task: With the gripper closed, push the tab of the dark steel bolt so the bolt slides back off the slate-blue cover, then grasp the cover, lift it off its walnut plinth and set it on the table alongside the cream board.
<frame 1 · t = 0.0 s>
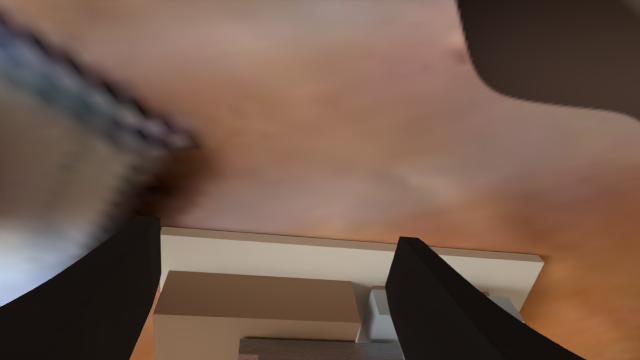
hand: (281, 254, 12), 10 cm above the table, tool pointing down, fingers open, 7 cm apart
latch box: (350, 296, 27), on the table
cover: (430, 322, 26), point 2 cm above the table, touching latch box
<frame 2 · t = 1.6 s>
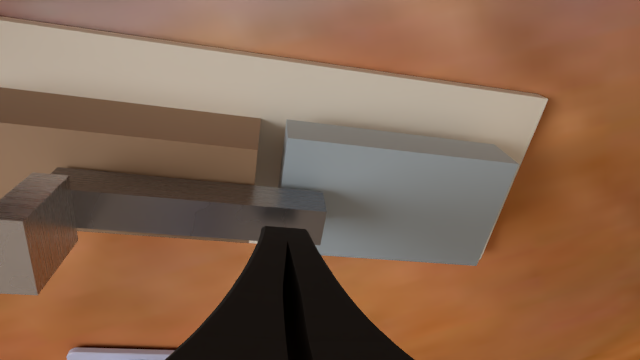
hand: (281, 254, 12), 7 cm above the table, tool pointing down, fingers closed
latch box: (268, 154, 19), on the table
cover: (381, 185, 18), point 2 cm above the table, touching latch box
bolt: (185, 228, 13), point 6 cm above the table, slide at 0.0 cm
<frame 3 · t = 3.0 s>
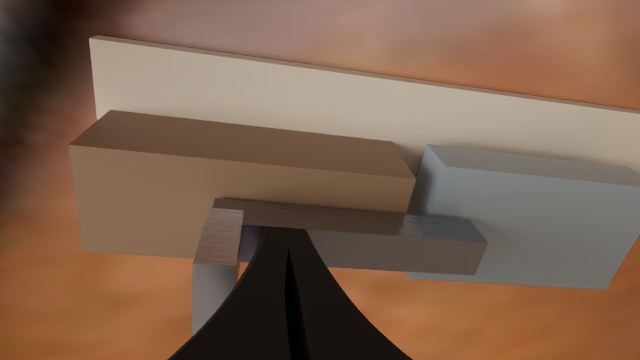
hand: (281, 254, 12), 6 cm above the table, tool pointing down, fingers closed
latch box: (387, 176, 18), on the table
cover: (508, 208, 17), point 2 cm above the table, touching latch box
bolt: (354, 262, 12), point 6 cm above the table, slide at 0.2 cm, touching gripper
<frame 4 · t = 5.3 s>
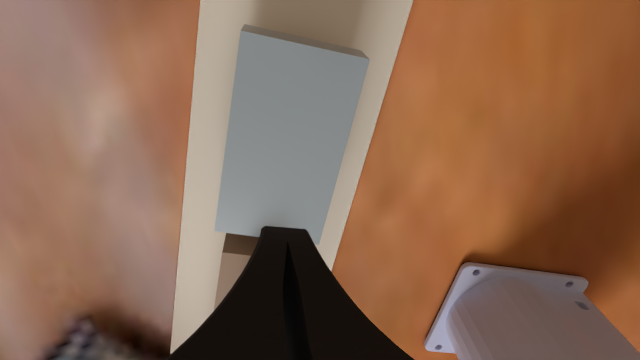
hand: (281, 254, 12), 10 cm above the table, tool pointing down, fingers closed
latch box: (268, 203, 23), on the table
cover: (284, 135, 19), point 2 cm above the table, touching latch box
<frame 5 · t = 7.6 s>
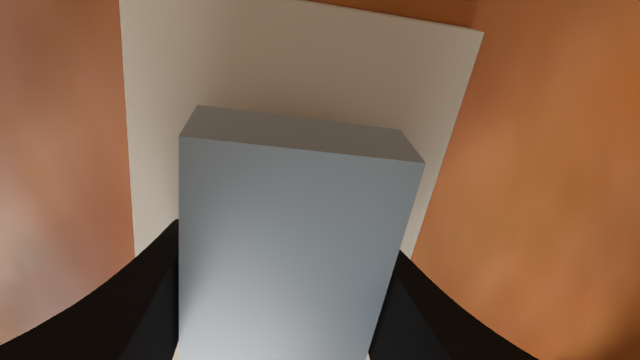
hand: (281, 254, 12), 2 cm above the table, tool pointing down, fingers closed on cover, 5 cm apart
latch box: (266, 329, 16), on the table
cover: (281, 262, 12), point 2 cm above the table, touching gripper, latch box
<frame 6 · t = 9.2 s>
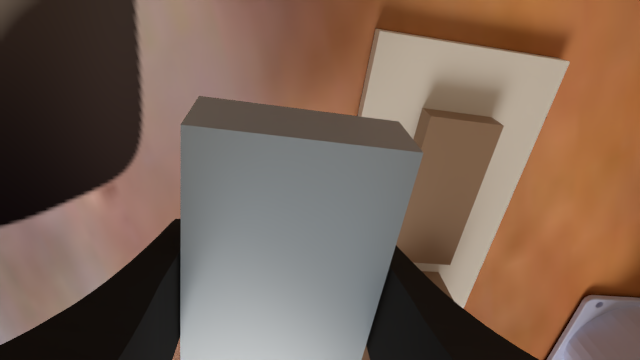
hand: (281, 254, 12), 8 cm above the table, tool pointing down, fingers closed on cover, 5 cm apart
latch box: (404, 254, 24), on the table
cover: (282, 253, 12), point 9 cm above the table, touching gripper
when the fingers open (2 cm above the table, at t = 10.9 s): cover drops 2 cm, on the table.
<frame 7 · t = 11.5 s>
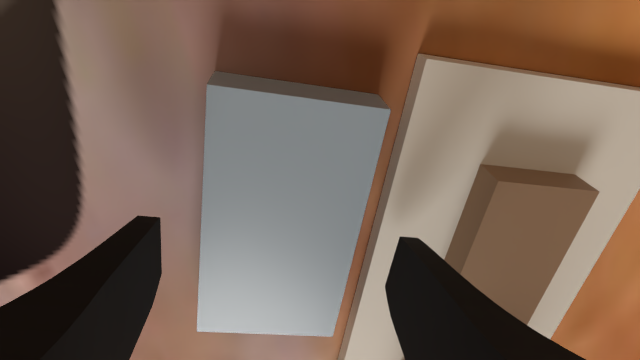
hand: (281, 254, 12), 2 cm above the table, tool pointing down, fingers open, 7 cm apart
latch box: (440, 338, 18), on the table
cover: (280, 202, 15), on the table
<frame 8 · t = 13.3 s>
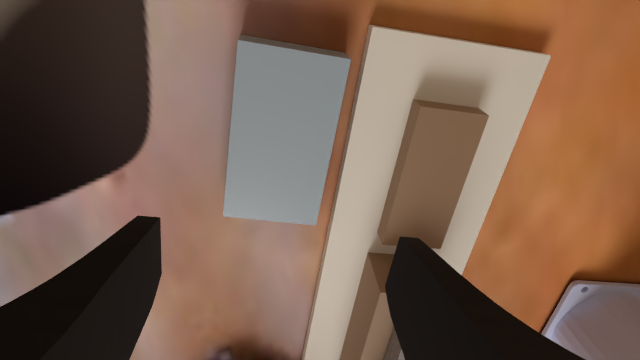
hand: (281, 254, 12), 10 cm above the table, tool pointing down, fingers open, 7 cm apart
latch box: (397, 240, 25), on the table
cover: (281, 129, 21), on the table
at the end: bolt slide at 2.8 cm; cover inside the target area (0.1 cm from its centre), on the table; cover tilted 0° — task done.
